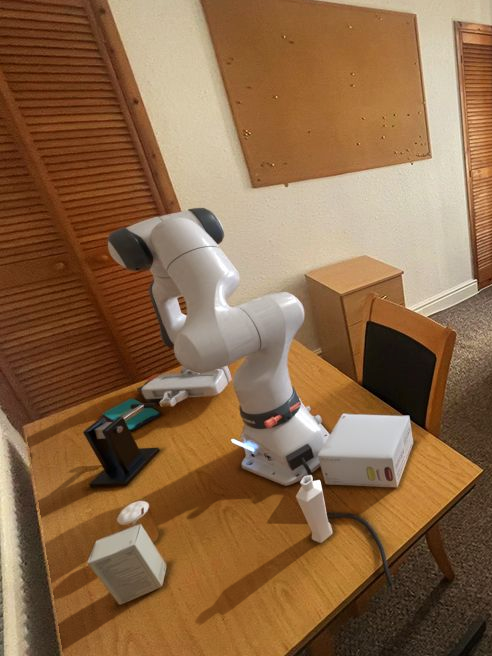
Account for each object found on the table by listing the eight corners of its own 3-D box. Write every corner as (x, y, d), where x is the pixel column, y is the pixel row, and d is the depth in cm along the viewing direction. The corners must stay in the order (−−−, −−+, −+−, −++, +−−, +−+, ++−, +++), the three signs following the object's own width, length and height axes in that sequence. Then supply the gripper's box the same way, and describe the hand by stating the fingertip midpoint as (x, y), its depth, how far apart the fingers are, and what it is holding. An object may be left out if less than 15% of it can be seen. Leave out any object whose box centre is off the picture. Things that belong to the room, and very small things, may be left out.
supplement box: (324, 486, 91) (315, 455, 87) (349, 440, 103) (342, 412, 99) (397, 488, 90) (392, 458, 86) (414, 442, 102) (409, 414, 98)
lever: (135, 409, 102) (133, 400, 101) (157, 408, 102) (155, 399, 101) (89, 439, 90) (86, 429, 89) (114, 438, 90) (112, 428, 90)
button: (167, 381, 120) (165, 375, 119) (153, 388, 117) (150, 382, 117) (162, 377, 122) (160, 371, 121) (148, 384, 119) (145, 378, 118)
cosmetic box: (167, 565, 76) (143, 521, 71) (162, 588, 72) (136, 544, 67) (124, 582, 73) (96, 539, 68) (116, 607, 69) (86, 563, 65)
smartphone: (132, 397, 118) (160, 412, 112) (133, 399, 118) (161, 414, 112) (100, 413, 112) (129, 430, 106) (102, 416, 112) (130, 432, 106)
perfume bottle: (327, 517, 84) (312, 465, 78) (338, 530, 81) (323, 477, 75) (305, 534, 81) (288, 481, 75) (316, 548, 78) (299, 494, 72)
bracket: (127, 452, 100) (104, 409, 95) (160, 450, 101) (139, 407, 95) (90, 488, 91) (63, 442, 86) (127, 486, 92) (101, 440, 86)
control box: (185, 390, 122) (180, 380, 120) (152, 406, 116) (147, 395, 114) (171, 379, 127) (166, 369, 125) (139, 394, 121) (134, 383, 119)
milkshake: (149, 554, 77) (129, 519, 74) (127, 549, 78) (106, 514, 75) (172, 531, 82) (154, 497, 78) (151, 526, 83) (132, 492, 79)
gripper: (160, 365, 119) (120, 397, 106) (231, 362, 119) (200, 393, 107) (167, 382, 121) (130, 415, 108) (237, 379, 122) (207, 412, 109)
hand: (165, 404), depth 107 cm, fingers closed
